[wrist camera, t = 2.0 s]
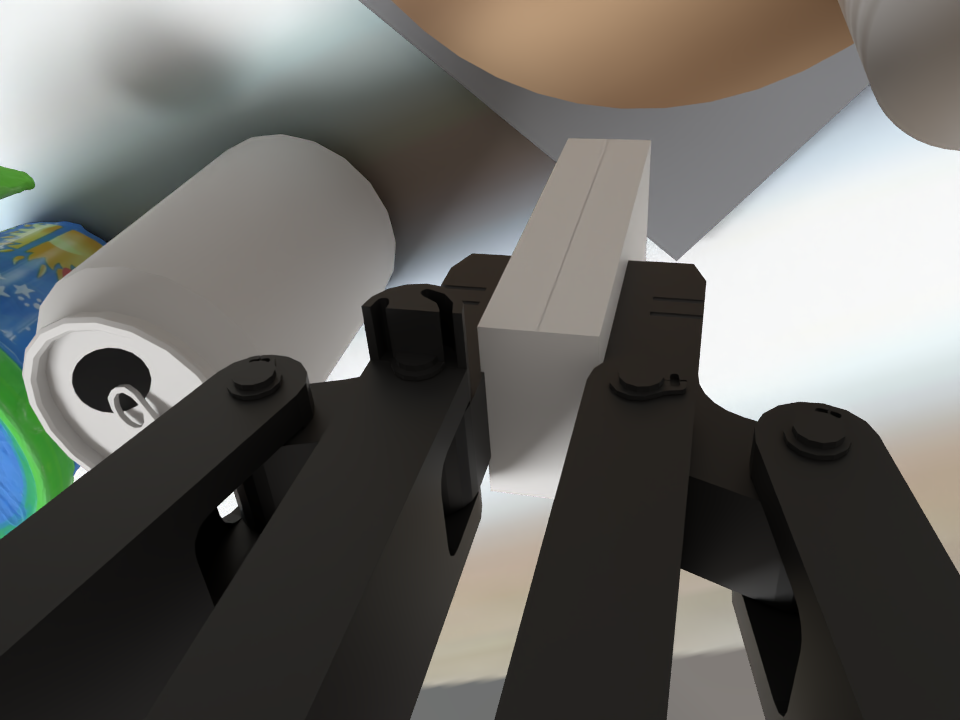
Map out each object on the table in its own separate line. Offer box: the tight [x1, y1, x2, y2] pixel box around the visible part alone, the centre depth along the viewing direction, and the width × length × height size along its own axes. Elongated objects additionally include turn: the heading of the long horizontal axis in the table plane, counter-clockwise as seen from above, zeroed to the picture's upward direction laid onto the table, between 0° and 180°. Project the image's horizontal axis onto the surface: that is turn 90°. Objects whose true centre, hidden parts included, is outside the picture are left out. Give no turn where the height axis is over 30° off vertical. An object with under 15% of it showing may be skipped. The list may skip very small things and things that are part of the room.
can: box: [22, 134, 396, 471], centre depth 27 cm, size 8×8×12 cm
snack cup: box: [0, 166, 107, 539], centre depth 33 cm, size 16×10×10 cm
